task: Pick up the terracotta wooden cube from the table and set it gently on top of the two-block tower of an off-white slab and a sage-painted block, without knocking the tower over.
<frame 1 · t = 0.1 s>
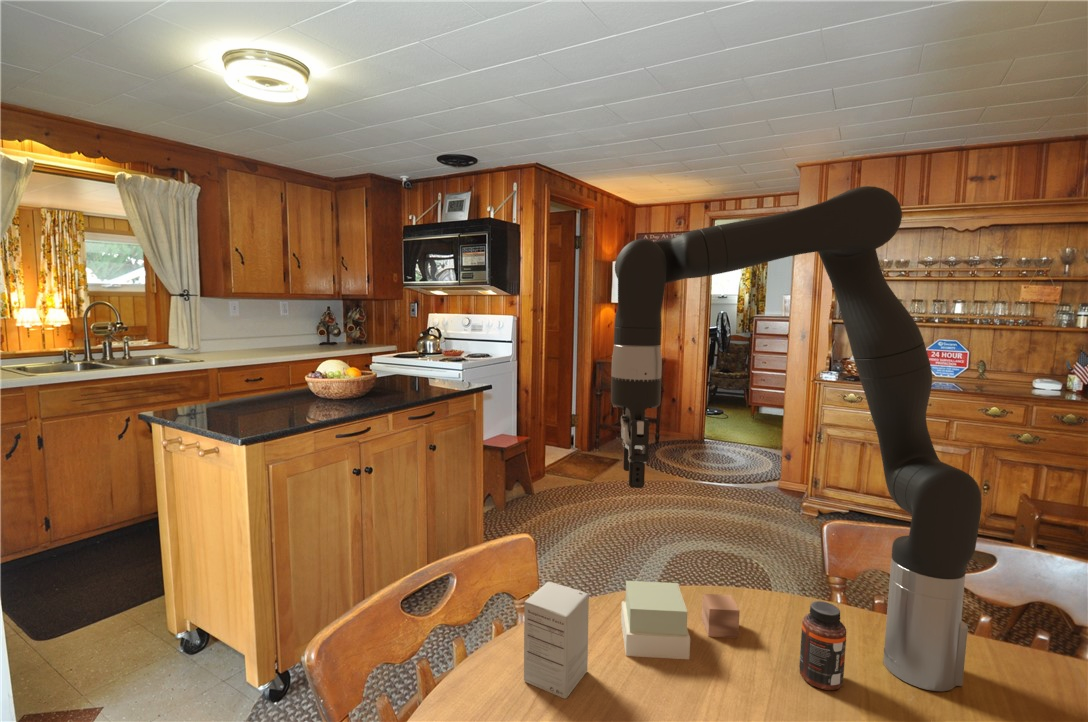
hand: (633, 478, 84), 29 cm above the table, fingers open, 8 cm apart
supplement box: (555, 678, 81), on the table
terracotta cube: (719, 629, 95), on the table
supplement bottle: (820, 680, 82), on the table
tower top: (654, 618, 91), point 4 cm above the table, touching tower base
tower base: (653, 640, 91), on the table, touching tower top
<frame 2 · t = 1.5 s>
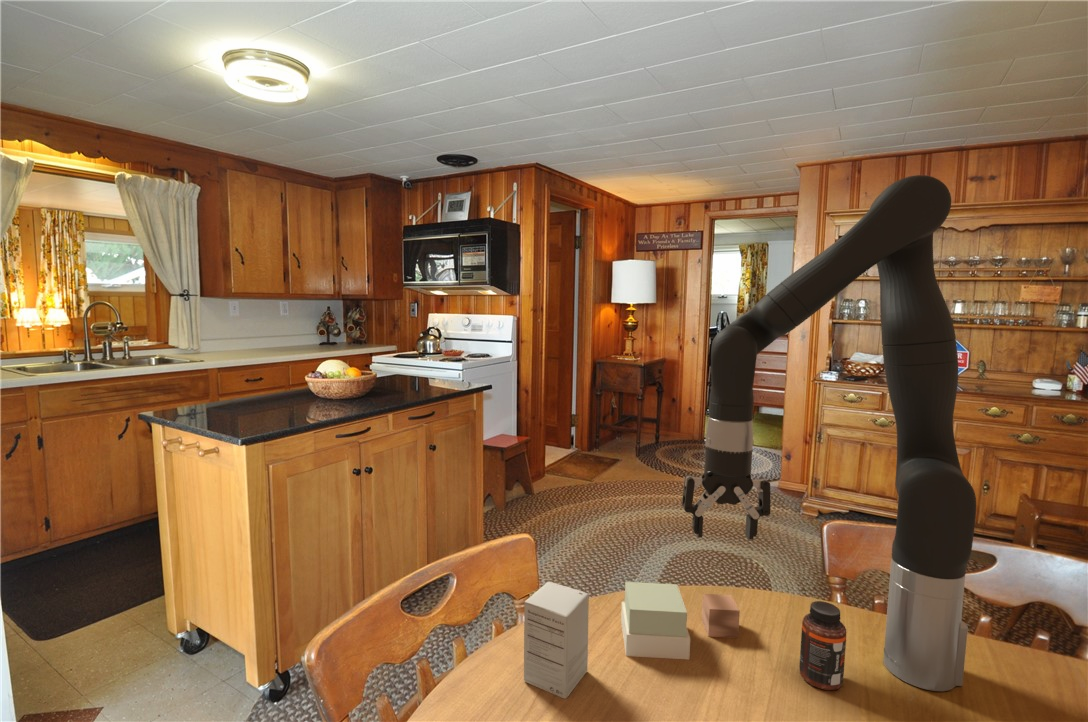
hand: (723, 536, 93), 17 cm above the table, fingers open, 8 cm apart
nothing on the table moved.
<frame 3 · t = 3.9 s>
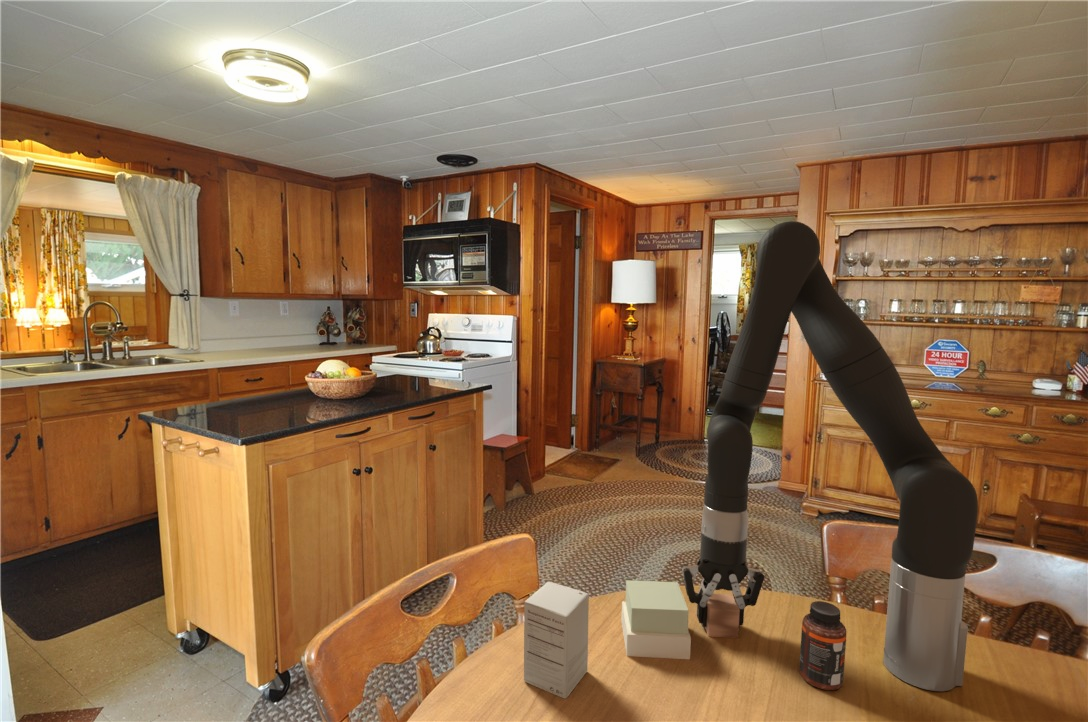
hand: (719, 624, 95), 1 cm above the table, fingers closed on terracotta cube, 5 cm apart
terracotta cube: (719, 628, 95), on the table, touching gripper
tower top: (655, 617, 91), point 4 cm above the table
tower base: (653, 640, 91), on the table
everything else where it was.
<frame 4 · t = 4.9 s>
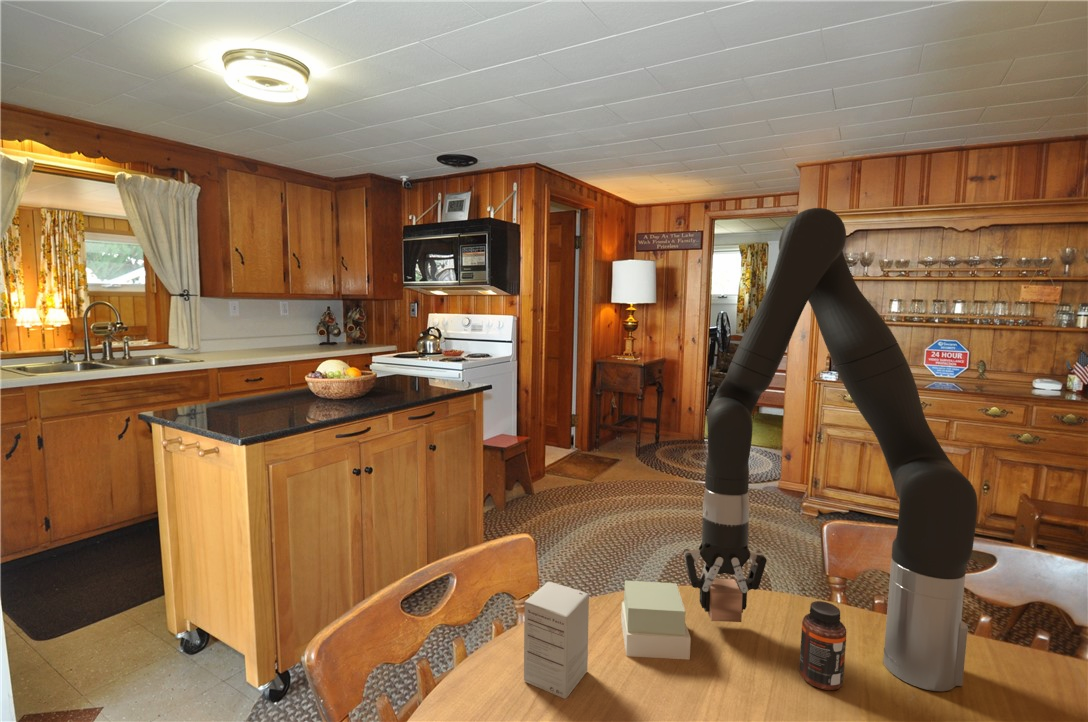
hand: (722, 609, 94), 4 cm above the table, fingers closed on terracotta cube, 5 cm apart
terracotta cube: (722, 613, 94), point 3 cm above the table, touching gripper
everything else where it was.
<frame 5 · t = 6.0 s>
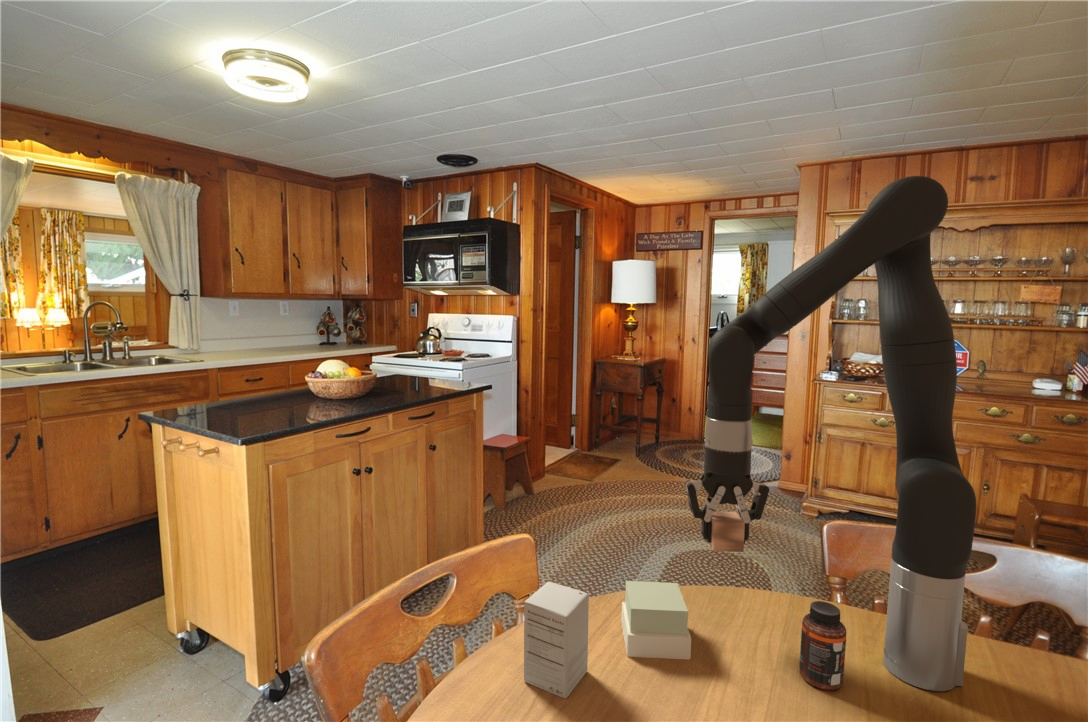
hand: (724, 541, 93), 16 cm above the table, fingers closed on terracotta cube, 5 cm apart
terracotta cube: (724, 545, 93), point 15 cm above the table, touching gripper
everything else where it was.
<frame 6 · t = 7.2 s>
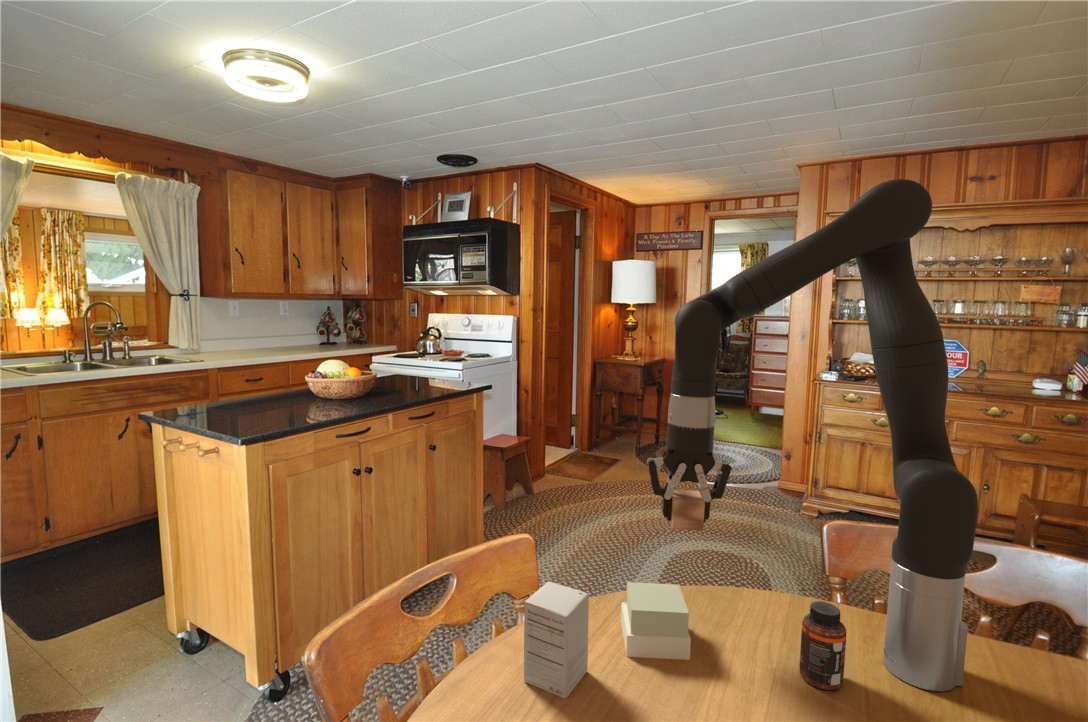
hand: (684, 519, 91), 20 cm above the table, fingers closed on terracotta cube, 5 cm apart
terracotta cube: (684, 523, 92), point 19 cm above the table, touching gripper
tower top: (655, 619, 91), point 3 cm above the table, touching tower base
tower base: (653, 642, 91), on the table, touching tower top
everything else where it was.
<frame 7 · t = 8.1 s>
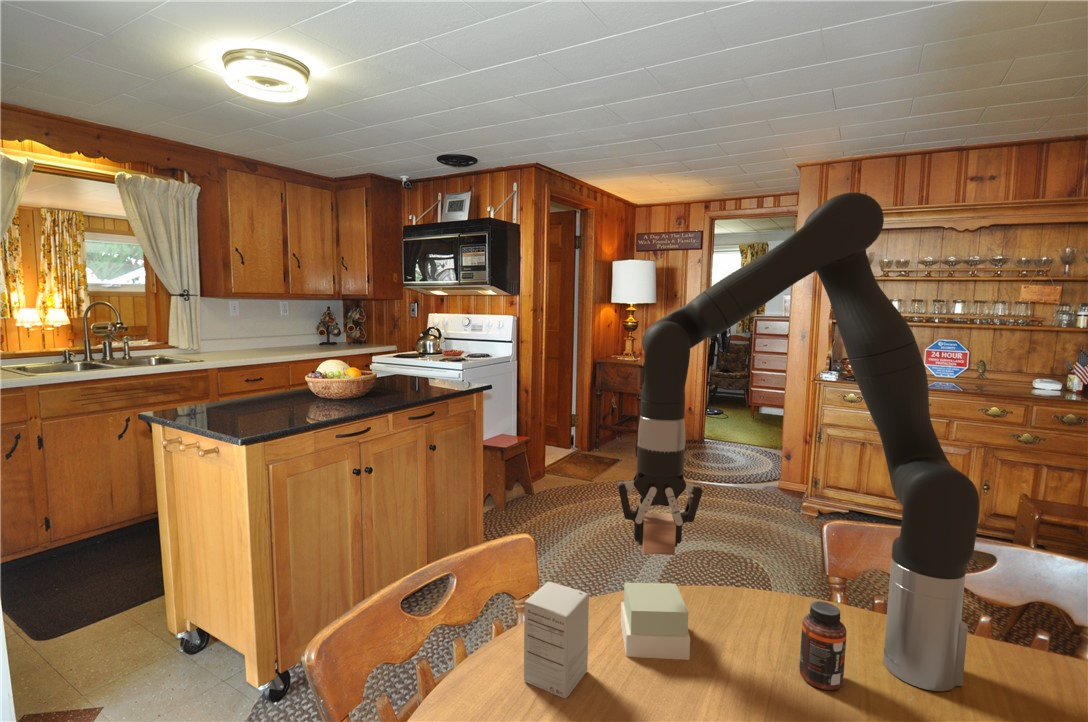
hand: (656, 543, 90), 17 cm above the table, fingers closed on terracotta cube, 5 cm apart
terracotta cube: (656, 547, 90), point 16 cm above the table, touching gripper
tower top: (654, 619, 91), point 4 cm above the table
tower base: (652, 641, 91), on the table
everything else where it was.
when the fingers open (9 cm above the table, at t = 10.4 s): terracotta cube stays where it is, resting on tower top.
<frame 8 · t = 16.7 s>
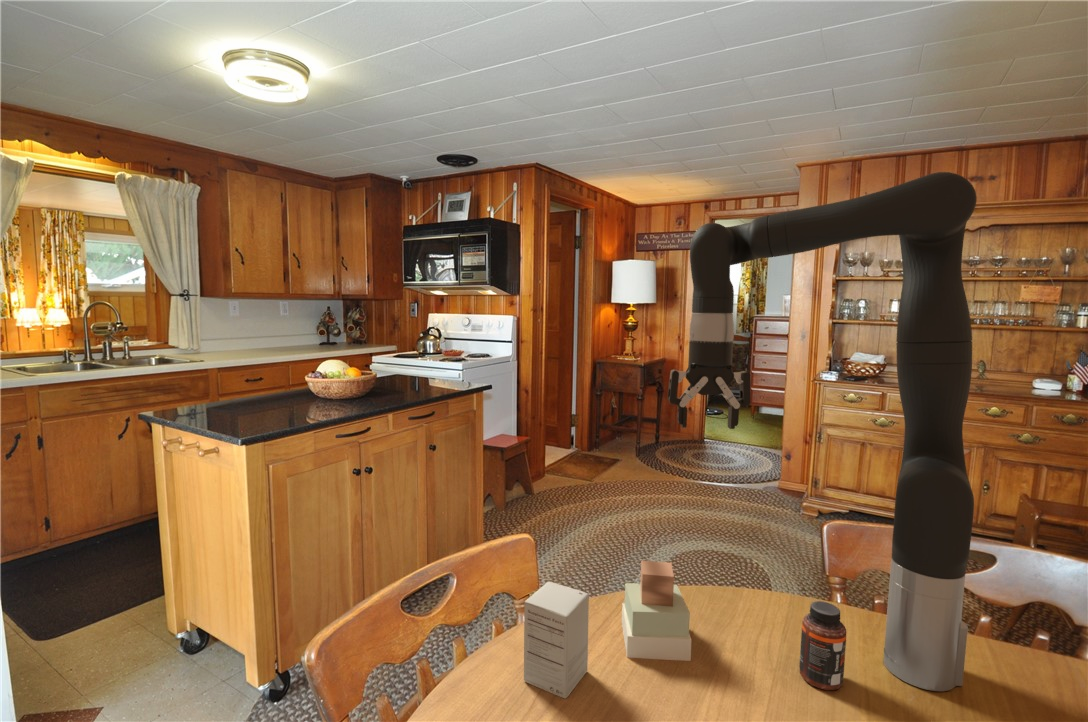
hand: (707, 427, 99), 34 cm above the table, fingers open, 8 cm apart
terracotta cube: (656, 597, 90), point 8 cm above the table, touching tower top
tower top: (655, 620, 91), point 3 cm above the table, touching terracotta cube
everything else where it was.
at the end: terracotta cube 0.1 cm off-centre on the tower base, point 8.0 cm above the tower base's base; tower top 0.0 cm off-centre on the tower base, point 4.0 cm above the tower base's base; terracotta cube tilted 1° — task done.
